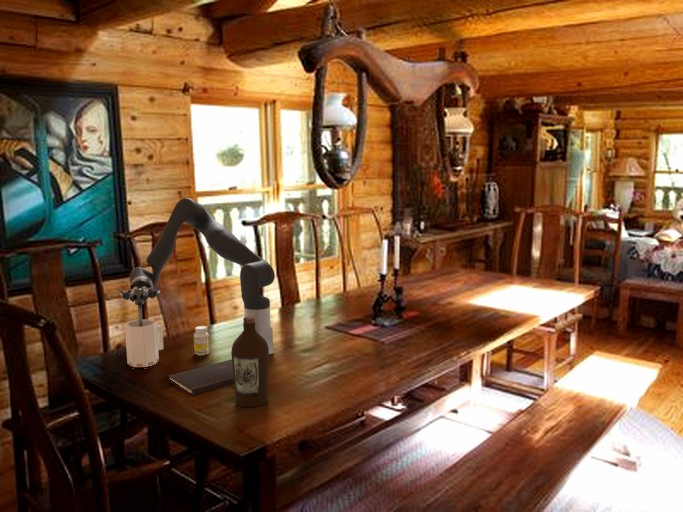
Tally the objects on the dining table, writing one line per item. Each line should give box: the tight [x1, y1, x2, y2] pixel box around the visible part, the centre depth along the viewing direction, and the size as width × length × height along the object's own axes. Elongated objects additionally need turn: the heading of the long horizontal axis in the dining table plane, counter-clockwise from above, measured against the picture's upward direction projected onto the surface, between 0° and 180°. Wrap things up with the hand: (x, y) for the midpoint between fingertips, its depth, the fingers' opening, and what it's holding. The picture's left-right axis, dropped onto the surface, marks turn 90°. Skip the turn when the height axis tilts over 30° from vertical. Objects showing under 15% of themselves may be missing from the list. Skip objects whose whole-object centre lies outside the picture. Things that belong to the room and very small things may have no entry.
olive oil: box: [230, 316, 270, 408], centre depth 171 cm, size 11×11×25 cm
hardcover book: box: [168, 358, 234, 396], centre depth 191 cm, size 16×23×2 cm
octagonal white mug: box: [124, 318, 164, 367], centre depth 205 cm, size 10×12×14 cm
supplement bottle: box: [193, 325, 210, 356], centre depth 215 cm, size 5×5×10 cm
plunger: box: [134, 288, 145, 327], centre depth 202 cm, size 7×7×19 cm
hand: (138, 298), depth 198 cm, fingers closed on plunger, 3 cm apart
